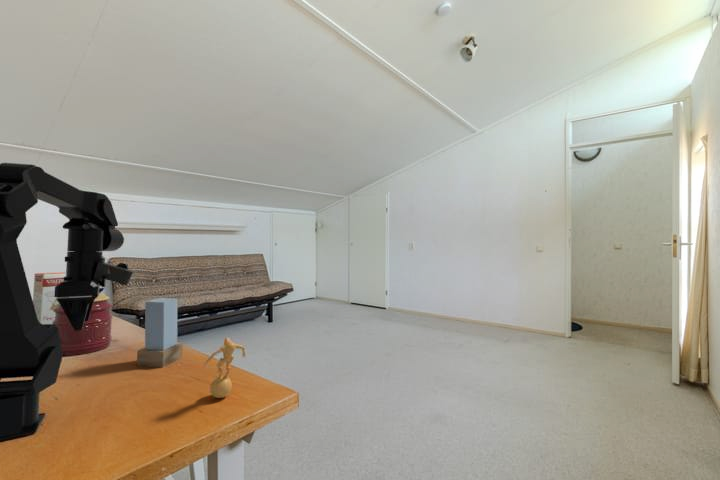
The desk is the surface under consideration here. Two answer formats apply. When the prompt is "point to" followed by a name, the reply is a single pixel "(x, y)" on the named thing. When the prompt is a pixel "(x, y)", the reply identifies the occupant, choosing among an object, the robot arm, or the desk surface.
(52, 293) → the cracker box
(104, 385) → the desk surface
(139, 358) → the beige block
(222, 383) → the figurine
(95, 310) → the canister
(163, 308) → the blue pillar
